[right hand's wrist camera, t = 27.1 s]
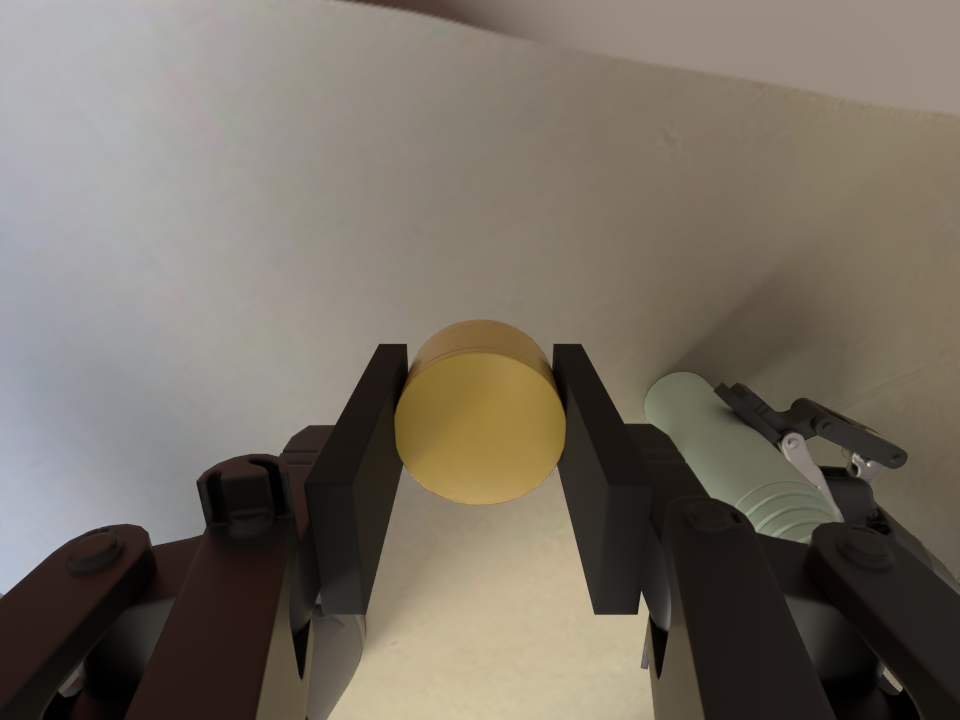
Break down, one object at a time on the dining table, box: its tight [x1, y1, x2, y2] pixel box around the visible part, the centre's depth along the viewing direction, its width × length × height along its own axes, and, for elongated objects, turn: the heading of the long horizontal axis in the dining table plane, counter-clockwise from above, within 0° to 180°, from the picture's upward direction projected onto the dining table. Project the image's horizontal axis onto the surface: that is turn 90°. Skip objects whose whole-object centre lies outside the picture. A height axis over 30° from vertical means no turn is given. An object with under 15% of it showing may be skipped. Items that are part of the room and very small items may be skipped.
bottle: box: [644, 372, 840, 544], centre depth 27 cm, size 5×5×18 cm
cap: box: [394, 320, 566, 505], centre depth 13 cm, size 4×4×2 cm
